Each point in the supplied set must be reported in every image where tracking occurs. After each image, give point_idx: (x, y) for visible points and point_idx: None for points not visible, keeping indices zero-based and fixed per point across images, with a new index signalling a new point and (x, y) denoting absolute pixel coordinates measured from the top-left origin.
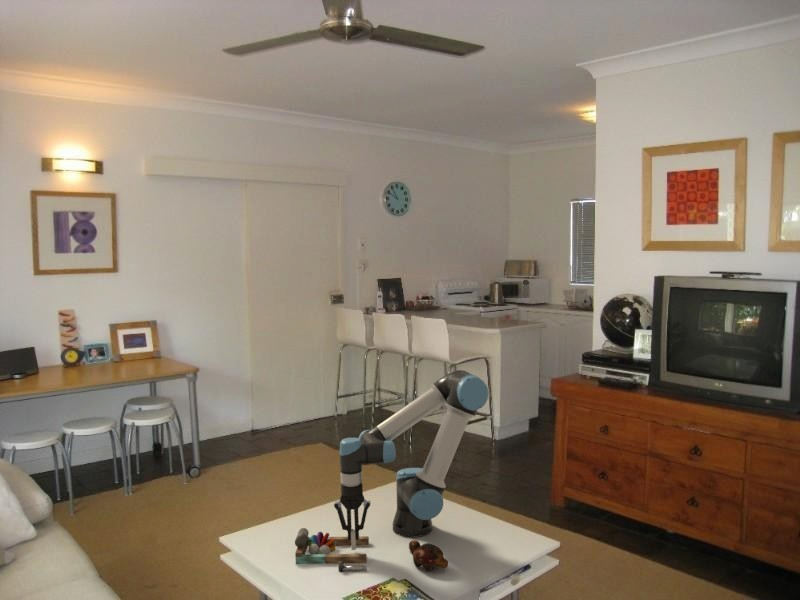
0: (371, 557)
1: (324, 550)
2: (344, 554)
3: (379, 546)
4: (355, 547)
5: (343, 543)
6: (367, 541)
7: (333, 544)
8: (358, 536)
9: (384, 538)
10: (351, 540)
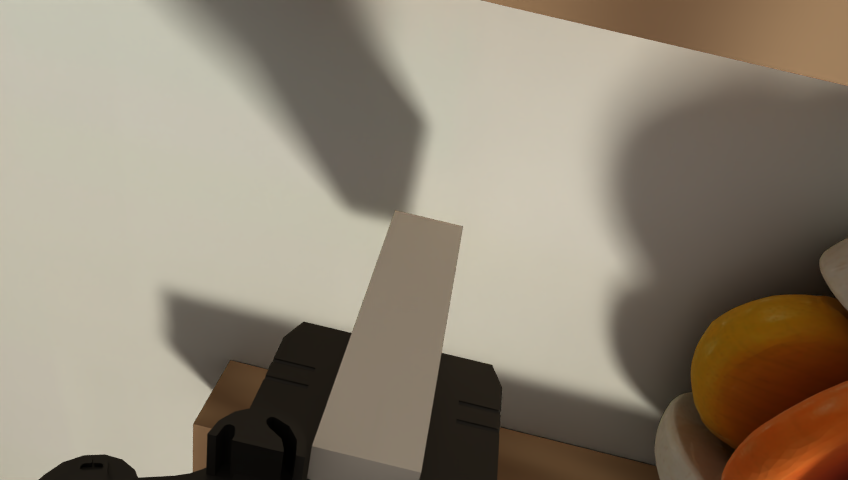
0: (176, 26)
1: None
2: (645, 11)
3: (97, 304)
4: (389, 231)
5: (531, 457)
6: (221, 399)
7: (699, 440)
8: (275, 365)
9: (66, 444)
10: (438, 325)
